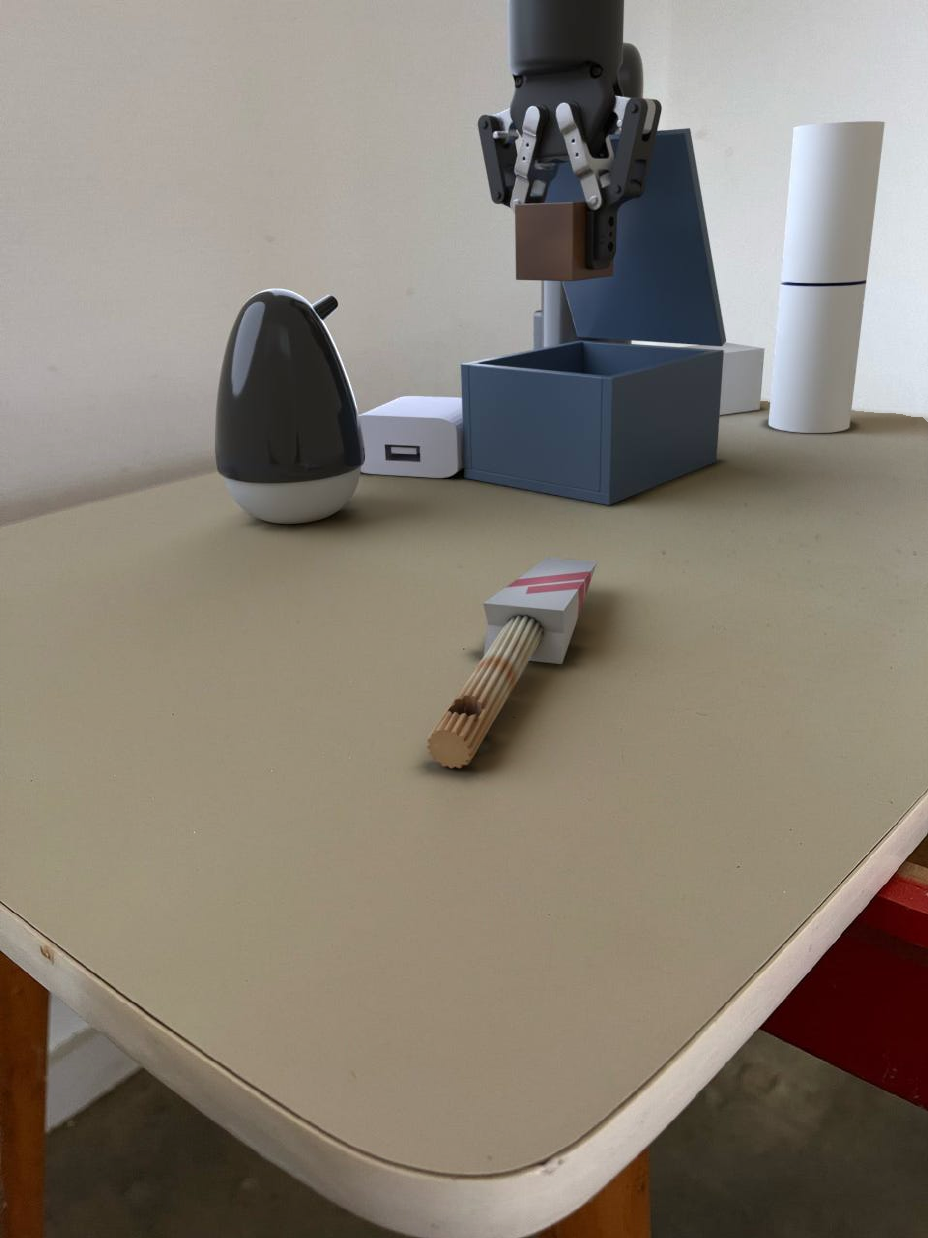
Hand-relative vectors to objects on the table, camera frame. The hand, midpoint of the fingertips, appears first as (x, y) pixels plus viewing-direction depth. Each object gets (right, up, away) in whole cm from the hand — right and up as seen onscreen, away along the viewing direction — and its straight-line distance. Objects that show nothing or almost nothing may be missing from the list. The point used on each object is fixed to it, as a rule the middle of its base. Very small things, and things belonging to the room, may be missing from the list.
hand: (564, 267), depth 71 cm
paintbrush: (-4, -27, -24) cm, 37 cm away
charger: (-9, -11, +15) cm, 21 cm away
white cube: (+19, -4, +30) cm, 36 cm away
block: (0, -1, 0) cm, 1 cm away
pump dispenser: (-19, -18, 0) cm, 26 cm away
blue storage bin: (+3, -13, +9) cm, 16 cm away
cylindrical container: (+25, -7, +22) cm, 34 cm away
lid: (+5, +3, +5) cm, 8 cm away
